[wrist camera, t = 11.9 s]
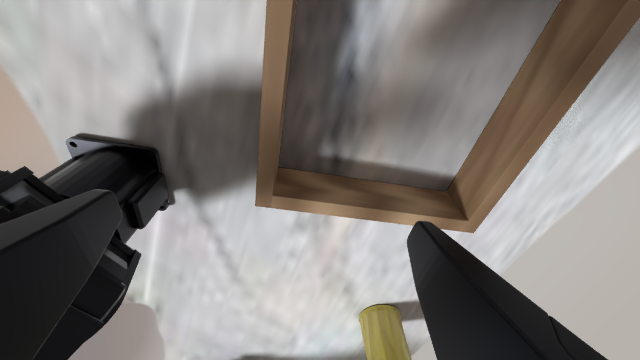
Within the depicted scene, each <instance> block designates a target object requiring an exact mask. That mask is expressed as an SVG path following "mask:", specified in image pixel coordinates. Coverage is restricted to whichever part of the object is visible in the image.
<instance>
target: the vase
mask: <svg viewBox="0 0 640 360" xmlns="http://www.w3.org/2000/svg"><path fill="white" fill-rule="evenodd" d="M359 322H360V324H361V329H362V336H363V342H364V347H365V352H366V357H367V360H411V356H410V352H409V348H408V345H407V342H406V338H405V334H404V330H403V326H402V322H401V315H400V311H399V310H398V309H397V308H396V307H394V306H390V305H375V306H371V307H369V308H366V309H365V310H363V311H362V312H361V313H360V315H359Z"/></svg>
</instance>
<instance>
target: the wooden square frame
mask: <svg viewBox="0 0 640 360" xmlns="http://www.w3.org/2000/svg"><path fill="white" fill-rule="evenodd" d="M296 7H297V0H267V6H266V24H265V42H264V59H263V77H262V95H261V112H260V130H259V148H258V165H257V183H256V201H255V206H259V207H267V208H276V209H284V210H292V211H300V212H308V213H316V214H324V215H332V216H340V217H348V218H356V219H364V220H373V221H381V222H389V223H397V224H405V225H413V226H414V225H415V223H416V222H417V221H429V222H431V223H433V224H434V225H435V226H437V227H438V228H439V229H445V230H453V231H461V232H470V233H474V232H475V231H476V229H477V228H478V227H479V226H480V224H481V223H482V222H483V220H484V219H485V218H486V216H487V215H488V214H489V213H490V211H491V210H492V209H493V207H494V206H495V205H496V203H497V202H498V201H499V200H500V198H501V197H502V196H503V194H504V193H505V192H506V190H507V189H508V188H509V186H510V185H511V184H512V183H513V181H514V180H515V179H516V177H517V176H518V175H519V173H520V172H521V171H522V170H523V168H524V167H525V166H526V164H527V163H528V162H529V160H530V159H531V158H532V157H533V155H534V154H535V153H536V151H537V150H538V149H539V147H540V146H541V145H542V144H543V142H544V141H545V140H546V138H547V137H548V136H549V134H550V133H551V132H552V131H553V129H554V128H555V127H556V125H557V124H558V123H559V121H560V120H561V119H562V117H563V116H564V115H565V114H566V112H567V111H568V110H569V108H570V107H571V106H572V104H573V103H574V102H575V101H576V99H577V98H578V97H579V95H580V94H581V93H582V91H583V90H584V89H585V88H586V86H587V85H588V84H589V82H590V81H591V80H592V78H593V77H594V76H595V75H596V73H597V72H598V71H599V69H600V68H601V67H602V65H603V64H604V63H605V62H606V60H607V59H608V58H609V56H610V55H611V54H612V52H613V51H614V50H615V49H616V47H617V46H618V45H619V43H620V42H621V41H622V39H623V38H624V37H625V35H626V34H627V33H628V32H629V30H630V29H631V28H632V26H633V25H634V24H635V22H636V21H637V20H638V19H639V17H640V0H561V2H560V3H559V5H558V7H557V8H556V10H555V12H554V13H553V15H552V17H551V18H550V20H549V22H548V23H547V25H546V27H545V28H544V30H543V32H542V33H541V35H540V37H539V38H538V40H537V42H536V43H535V45H534V47H533V48H532V50H531V52H530V53H529V55H528V57H527V58H526V60H525V62H524V63H523V65H522V67H521V68H520V70H519V72H518V73H517V75H516V77H515V78H514V80H513V82H512V83H511V85H510V87H509V88H508V90H507V92H506V93H505V95H504V97H503V98H502V100H501V102H500V103H499V105H498V107H497V108H496V110H495V112H494V113H493V115H492V117H491V118H490V120H489V122H488V123H487V125H486V127H485V128H484V130H483V132H482V133H481V135H480V137H479V138H478V140H477V142H476V143H475V145H474V147H473V148H472V150H471V152H470V153H469V155H468V157H467V158H466V160H465V162H464V163H463V165H462V167H461V168H460V170H459V172H458V173H457V175H456V177H455V178H454V180H453V182H452V183H451V185H450V187H449V188H448V190H447V192H445V191H438V190H431V189H424V188H417V187H410V186H403V185H397V184H390V183H383V182H376V181H369V180H362V179H355V178H348V177H342V176H335V175H328V174H321V173H314V172H307V171H300V170H293V169H286V168H280V167H279V158H280V149H281V140H282V131H283V122H284V113H285V104H286V96H287V87H288V78H289V69H290V60H291V51H292V42H293V33H294V24H295V16H296Z"/></svg>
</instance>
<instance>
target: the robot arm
mask: <svg viewBox="0 0 640 360" xmlns="http://www.w3.org/2000/svg"><path fill="white" fill-rule="evenodd" d="M74 142H75V143H76V144H75V143H74ZM66 144H67V147H68V149H69V151H70V154H71V156H72V159H70V160H68V161H67V162H65V163H63V164H62V165H60V166H59V167H57V168H55V169H54V170H52V171H51V172H49V173H47V174H46V175H44V176H42V177H41V178H39V179H38V178H37V177H36V176H34V175H33V172H32V171H31V170H29V169H28V168H27V167H25V166H24V167H22V168H20V169H18V170H16V171H14V172H13V173H10V172H9V171H5V172H4V171H0V360H68V358H69V357H70V356H71V355H72V354H73V353H74V352H75V351H76V350H77V349H78V348H79V347H80V346H81V345H82V344H83V343H84V342H85V341H86V340H88V339H89V338H91V337H92V336H93V335H94V334H95V333H97V332H98V331H99V330H100V329H101V328H102V327H103V326H104V325H105V324H106V323H107V322H108V321H109V320H110V318H111V317H112V316H113V315H114V314H115V312H116V311H117V310H118V308H119V306H120V305H121V303H122V301H123V299H124V297H125V295H126V292H127V290H128V287H129V285H130V282H131V280H132V277H133V275H134V272H135V270H136V267H137V265H138V262H139V259H140V257H141V254H140V253H139V252H138V251H137V250H133V249H132V248H130V247H129V246H128V245H126V242H127V241H128V240H129V239H130V237H131V236H132V235H133V234H134V232H135V231H136V230H137V229H143V228H144V227H145V226H146V225H147V224H148V222H149V221H150V220H151V219H152V217H153V216H154V215H155V213H156V212H157V211H158V210H160V211H164V210H166V209H167V207H168V206H169V204H168V199H167V198H168V192H167V187H166V182H165V176H164V174H163V173H162V169H161V164H160V159H159V154H158V152H157V151H156V150H155V149H154V148H151V147H144V146H137V145H130V144H124V143H117V142H110V141H103V140H96V139H89V138H82V137H76V136H72V137H71V138H69V139H67V140H66ZM149 153H151V154H152V155H153V156H152V155H150V154H149ZM162 205H163V206H162ZM407 247H408V252H409V257H410V262H411V267H412V273H413V278H414V283H415V287H416V291H417V295H418V298H419V301H420V305H421V308H422V311H423V314H424V318H425V321H426V324H427V327H428V331H429V334H430V337H431V341H432V344H433V347H434V350H435V354H436V357H437V360H608V359H606V358H605V357H604V356H602V355H601V354H600V353H598V352H597V351H595V350H594V349H593V348H591V347H590V346H589V345H587V344H586V343H585V342H584V341H582V340H581V339H580V338H578V337H577V336H576V335H574V334H573V333H572V332H571V331H569V330H568V329H567V328H565V327H564V326H563V325H562V324H560V323H559V322H558V321H557V320H555V319H554V318H553V317H551V316H548V314H547V313H546V312H545V311H544V310H542V309H541V308H540V307H538V306H537V305H536V304H535V303H534V302H532V301H531V300H530V299H528V298H527V297H526V296H525V295H523V294H522V293H521V292H520V291H518V290H517V289H516V288H514V287H513V286H512V285H510V284H509V283H508V282H507V281H506V280H504V279H503V278H502V277H500V276H499V275H498V274H497V273H495V272H494V271H493V270H492V269H490V268H489V267H488V266H486V265H485V264H484V263H483V262H481V261H480V260H479V259H477V258H476V257H475V256H474V255H472V254H471V253H470V252H469V251H467V250H466V249H465V248H463V247H462V246H461V245H460V244H458V243H457V242H456V241H455V240H453V239H452V238H451V237H449V236H448V235H447V234H446V233H444V232H443V231H442V230H441V229H439V228H438V227H437V226H435V225H434V224H433V223H431V222H429V221H417V222H416V223H415V225H414V227H413V228H412V230H411V232H410V234H409V236H408V239H407Z"/></svg>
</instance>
